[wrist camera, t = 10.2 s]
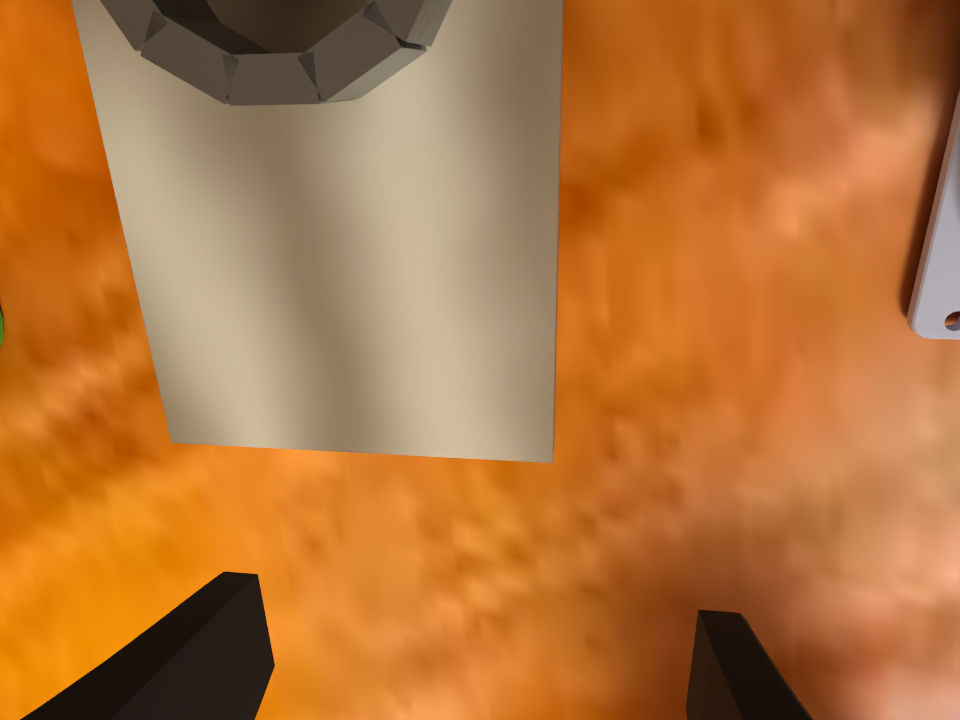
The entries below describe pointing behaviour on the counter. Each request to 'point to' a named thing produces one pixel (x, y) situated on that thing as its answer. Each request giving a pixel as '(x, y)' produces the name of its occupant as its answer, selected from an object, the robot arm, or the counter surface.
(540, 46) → the peg holder
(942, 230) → the robot arm
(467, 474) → the counter surface
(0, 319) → the cup
